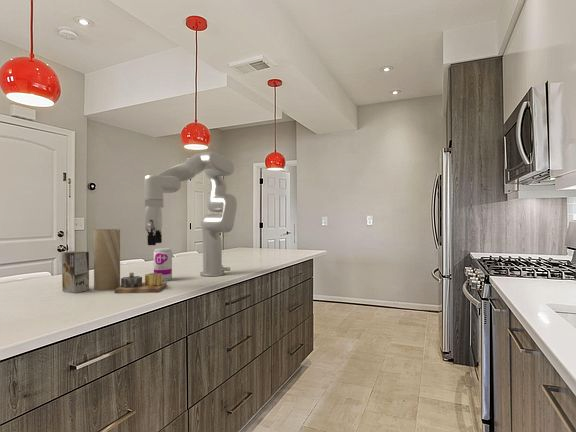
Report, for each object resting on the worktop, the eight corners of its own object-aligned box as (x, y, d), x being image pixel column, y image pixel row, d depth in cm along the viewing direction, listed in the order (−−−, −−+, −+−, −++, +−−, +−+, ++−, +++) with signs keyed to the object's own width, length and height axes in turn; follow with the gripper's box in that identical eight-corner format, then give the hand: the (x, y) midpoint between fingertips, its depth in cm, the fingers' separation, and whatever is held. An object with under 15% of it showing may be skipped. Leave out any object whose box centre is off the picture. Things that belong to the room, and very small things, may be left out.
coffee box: (90, 290, 149) (89, 251, 149) (74, 293, 143) (74, 253, 143) (76, 288, 153) (76, 250, 153) (61, 291, 148) (61, 252, 148)
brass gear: (164, 283, 156) (164, 272, 156) (159, 286, 149) (159, 275, 149) (147, 283, 156) (147, 273, 156) (142, 286, 149) (142, 275, 149)
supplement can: (168, 281, 168) (168, 249, 168) (151, 281, 168) (150, 249, 168) (174, 278, 176) (174, 248, 176) (157, 278, 176) (157, 248, 176)
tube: (88, 289, 150) (88, 230, 150) (105, 285, 159) (105, 229, 159) (108, 291, 147) (108, 230, 147) (125, 286, 157) (125, 229, 157)
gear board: (166, 285, 159) (166, 269, 159) (158, 292, 145) (158, 274, 145) (126, 286, 157) (126, 270, 157) (114, 293, 143) (114, 275, 143)
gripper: (150, 204, 161) (151, 242, 162) (138, 203, 144) (139, 246, 145) (167, 204, 162) (168, 242, 163) (158, 203, 145) (158, 245, 145)
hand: (154, 244), depth 154 cm, fingers open, 9 cm apart
